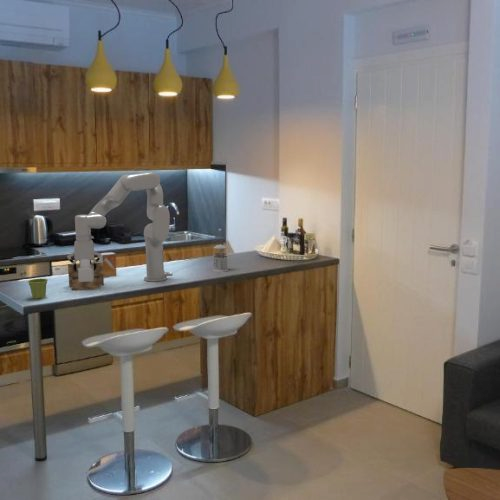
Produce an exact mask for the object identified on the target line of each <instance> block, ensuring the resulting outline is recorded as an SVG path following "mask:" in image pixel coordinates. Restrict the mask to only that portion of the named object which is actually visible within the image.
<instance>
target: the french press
mask: <svg viewBox="0 0 500 500" xmlns="http://www.w3.org/2000/svg"><path fill="white" fill-rule="evenodd" d="M221 231H222V228H218V232H221ZM227 248H228V247H227V246H226V245H225V244H221V243H219V244H216V245H215V246H214V247H213V250H219V252H216V253H214V256H213V269H212V271H213V272H228V271H229V268H228V256H227V253H226V252H225V251H224V250H225V249H227ZM221 250H223V251H221Z"/></svg>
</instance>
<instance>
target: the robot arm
mask: <svg viewBox="0 0 500 500" xmlns="http://www.w3.org/2000/svg"><path fill="white" fill-rule="evenodd" d="M160 183H161V177H160V175H159V174H158V173H156V172H154V171H142V172H140V173H139V174H138V173H137V174H129V173H127V174H126V173H125V174H123V175H122V176H120V178H119V179H118V180H117V181H116V182H115V184H114V185H113V186H112V188H111V189H110V190H109V192H108V193H107V194H106V195H104V197H103V198H101V199H100V201H98V202H97V204H95V205H94V206H93V208H92V209H91V210H90V212H89V213H88V214H77V215H75V216H74V224H75V225H74V226H75V241H74V243H73V244H74V245H73V246H74V249H73V252H72V253H69V254H68V255H67V256H66V257H67V260H68V261H69V262H70V264H73V269H74V270H75V272H76V271H77V267H76V264H77V262H79V261H80V260H83V259H89V260H91V262H92V263H94V271H95V269H97V265H96V263H99V260H100V257H101V254H100V252H97V251H95V246H94V241H93V239H95V237H94V235H92V234H91V232H92V231H91V229H103V228H104V227H105V226H106V225H107V219H106V218H107V217H105V216H106V215H107V213H109V212H110V211H111V210H112V209H114V208H117V207H119V206H120V205H121V204H122V203H123V201H124V200H125V199H126V198H127V196H128V195H129V194H130V192H139V191H143V190H145V191H146V195H147V200H146V201H147V205H146V217H147V218H148V219H149V220H151V221H152V222H151V223H148V224H147V225H145V227H144V228H143V229H144V230H143V238H144V244H145V266H146V267H145V268H146V276H145V277H143V280H144V281H146V282H150V283H151V282H152V283H153V282H155V283H157V282H163V281H166V280H167V278H168V277H172V276H173V272H170V271H167V272H166V271H165V270H164V269H165V268H164V265H165V263H164V244H163V243H164V242H166V240H168V238H169V234H170V222H171V221H170V220H171V219H170V218H171V215H170V214H171V213H170V211H169V208H168V207H167V206H166V205H164V190H163V188H162V185H161V184H160ZM73 256H74V258H73V259H72V258H71V257H73ZM95 256H97V258H95Z"/></svg>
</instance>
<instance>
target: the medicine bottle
mask: <svg viewBox="0 0 500 500" xmlns="http://www.w3.org/2000/svg"><path fill="white" fill-rule="evenodd" d="M78 262H79V263H78V264H80V267H79V268H78V282H92V281H93V280H94V268H93V266H91V263H92V260H89V259H83V260H80V261H78Z"/></svg>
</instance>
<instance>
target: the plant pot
mask: <svg viewBox="0 0 500 500" xmlns="http://www.w3.org/2000/svg"><path fill="white" fill-rule="evenodd" d="M48 281H49V280H48V278H34V279H29V280H27V283H28V286H29V289H30V292H31V298H32V299H33V300H34V299H35V300H38V299H44V298H46V296H47V295H46V294H47V283H48Z"/></svg>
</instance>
